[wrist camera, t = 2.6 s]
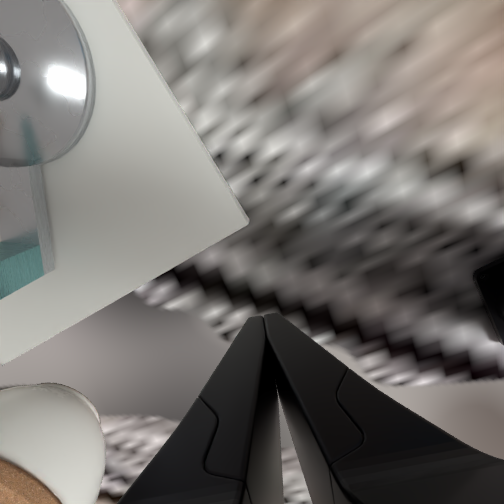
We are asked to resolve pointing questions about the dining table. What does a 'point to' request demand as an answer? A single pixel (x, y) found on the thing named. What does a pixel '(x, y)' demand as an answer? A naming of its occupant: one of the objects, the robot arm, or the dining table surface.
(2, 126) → the flange plate
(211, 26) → the dining table surface
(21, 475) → the lidded bowl
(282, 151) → the dining table surface
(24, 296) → the clock board
